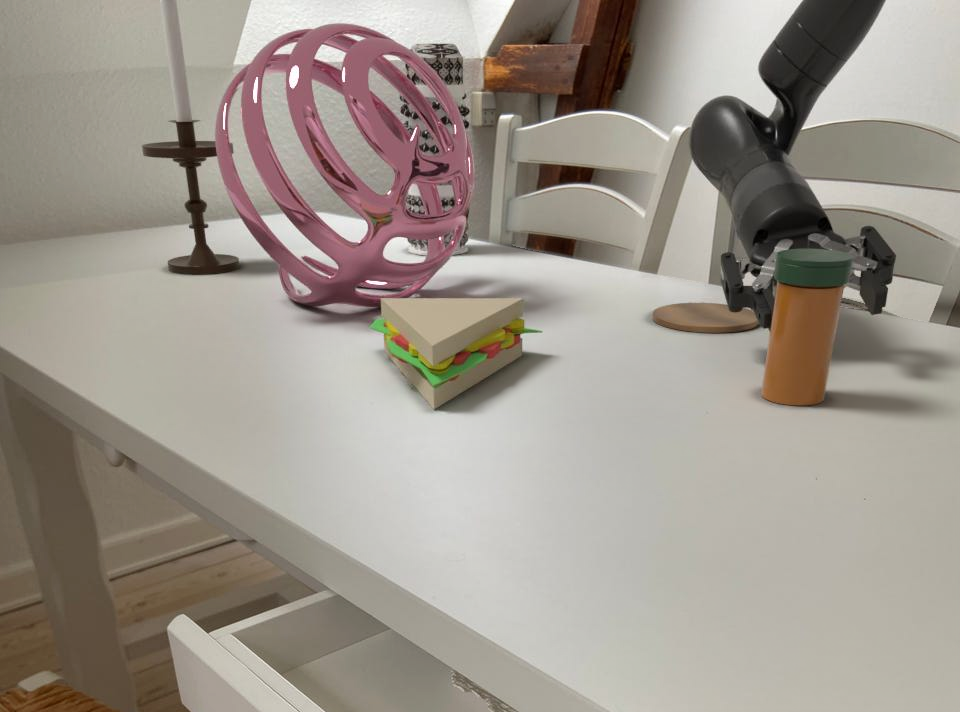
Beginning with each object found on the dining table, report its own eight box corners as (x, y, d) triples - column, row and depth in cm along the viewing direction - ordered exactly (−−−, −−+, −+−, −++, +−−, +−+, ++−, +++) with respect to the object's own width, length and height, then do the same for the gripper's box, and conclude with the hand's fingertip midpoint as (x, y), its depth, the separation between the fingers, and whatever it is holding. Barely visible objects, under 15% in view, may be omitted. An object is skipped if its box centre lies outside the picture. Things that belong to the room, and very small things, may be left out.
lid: (810, 269, 81) (814, 246, 80) (865, 281, 77) (870, 256, 76) (758, 277, 78) (761, 252, 77) (812, 290, 74) (816, 264, 73)
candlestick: (143, 270, 129) (88, -61, 111) (204, 257, 137) (162, -54, 119) (204, 279, 124) (157, -66, 106) (264, 264, 132) (229, -58, 114)
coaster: (709, 303, 111) (709, 298, 111) (781, 324, 103) (782, 318, 103) (631, 316, 107) (631, 310, 106) (700, 338, 98) (701, 332, 98)
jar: (792, 384, 85) (812, 253, 80) (837, 399, 81) (862, 263, 76) (748, 393, 83) (766, 259, 77) (792, 409, 79) (815, 270, 74)
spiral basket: (143, 101, 110) (262, -84, 89) (352, 154, 128) (490, 10, 108) (196, 343, 107) (330, 209, 87) (401, 360, 126) (551, 253, 106)
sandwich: (307, 400, 81) (301, 338, 79) (389, 341, 98) (387, 288, 95) (490, 416, 78) (490, 351, 75) (543, 352, 94) (545, 297, 92)
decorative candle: (399, 246, 144) (391, 43, 131) (462, 243, 146) (460, 43, 133) (411, 257, 136) (403, 43, 123) (477, 254, 138) (476, 43, 125)
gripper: (703, 197, 93) (744, 290, 82) (859, 166, 91) (921, 257, 81) (702, 270, 98) (741, 367, 88) (850, 242, 97) (906, 337, 87)
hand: (827, 314), depth 84 cm, fingers open, 8 cm apart
